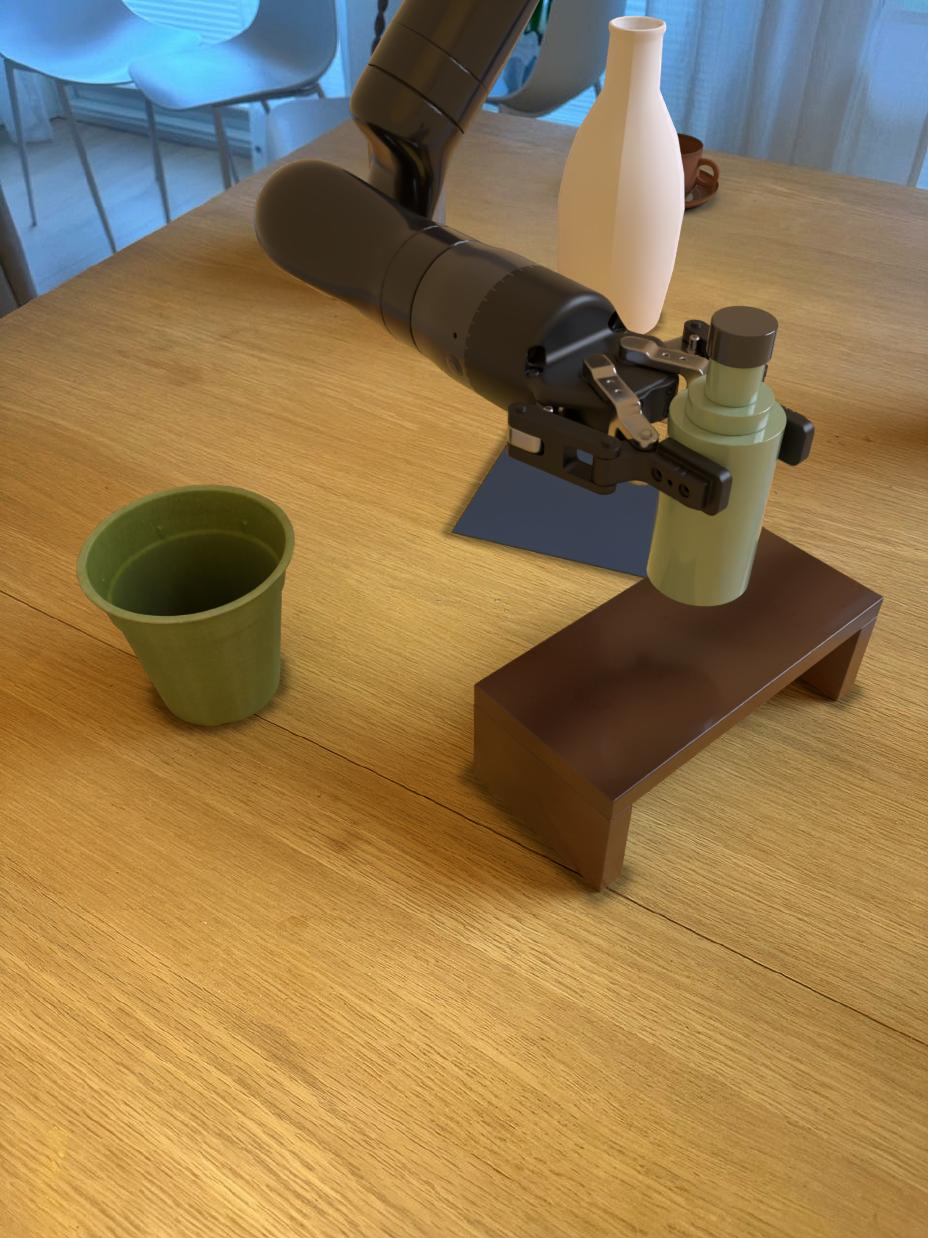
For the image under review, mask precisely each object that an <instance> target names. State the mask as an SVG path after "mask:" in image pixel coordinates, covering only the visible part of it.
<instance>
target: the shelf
mask: <svg viewBox="0 0 928 1238" xmlns="http://www.w3.org/2000/svg"><path fill="white" fill-rule="evenodd" d="M884 599H885V597H884V596H883V595H881V594H880V593H877V592H876V591H874V590H873V589H871V588H869V587H867V586H866V585H864V584H862V583H860V582H858V581H857V580H856V579H854V578H851V577H850V576H848V575H847V574H845V573H844V572H842V571H840V570H839V569H836V568H834V567H833V566H831V565H829V564H828V563H826V562H825V561H823V560H821V559H819V558H818V557H816V556H814V555H812V554H811V553H810V552H807V551H805V550H804V549H802V548H801V547H798V546H797V545H795V544H794V543H792V542H791V541H788V540H786V539H785V538H783V537H781V536H780V535H777V534H776V533H775V532H772V531H771V530H769V529H767V528H766V527H764V526H762V529H761V533H760V537H759V542H758V546H757V550H756V555H755V559H754V563H753V567H752V572H751V576H750V580H749V584H748V587H747V588H746V590H745V591H744V593H743V594H742V595H741V596H739V597H738V598H737V599H735V600H733V601H731V602H728V603H725V604H722V605H717V606H694V605H688V604H684V603H681V602H678V601H675V600H673V599H671V598H669V597H667V596H666V595H664V594H662V593H661V592H660V591H659V590H658V589H657V588H656V587H655V586H654V585H653V584H652V583H651V581H650V579H649V577H648V576H647V577H645V578H643V577H642V579H640V580H638V581H637V582H636V583H634V584H632V585H630V586H629V587H627V588H626V589H624V590H623V591H621V592H619V593H617V594H616V595H615V596H613V597H611V598H610V599H609V600H606V601H605V602H603V603H602V604H600V605H598V606H597V607H596V608H594V609H592V610H591V611H589V612H587V613H586V614H584V615H582V616H581V617H579V618H578V619H576V620H574V621H573V622H571V623H569V624H568V625H567V626H565V627H563V628H562V629H560V630H559V631H557V632H555V633H554V634H552V635H551V636H549V637H548V638H546V639H544V640H542V641H541V642H539V643H537V644H536V645H534V646H533V647H531V648H530V649H528V650H527V651H525V652H523V653H522V654H520V655H519V656H516V657H515V658H514V659H512V660H511V661H509V662H507V663H506V664H504V665H502V666H501V667H499V668H498V669H496V670H494V671H493V672H491V673H490V674H487V676H485V677H483V678H482V679H480V680H478V681H477V682H475V683H474V684H473V777H474V779H476V780H477V781H478V782H479V783H480V784H481V785H483V786H484V788H486V790H488V791H489V792H490V793H491V794H493V796H495V798H496V799H498V800H499V801H500V803H502V805H504V806H505V807H506V808H507V809H508V810H510V812H512V814H514V815H515V816H516V817H517V818H518V819H519V820H521V822H523V824H525V825H526V826H527V827H528V828H529V829H530V830H531V831H532V832H533V833H535V834H536V835H537V836H538V837H539V838H540V839H541V840H542V841H543V842H544V843H545V844H546V845H547V846H548V847H550V848H551V849H552V850H553V851H554V852H555V853H556V854H557V855H559V857H560V858H562V859H563V860H564V861H565V862H566V863H567V864H568V865H569V866H570V867H571V868H573V869H574V871H576V872H577V873H578V874H579V875H580V876H581V877H582V878H583V879H585V881H587V882H588V884H590V885H591V886H592V887H593V888H594V889H595V890H596V891H597V892H598V893H601V892H603V891H604V890H606V889H607V888H608V887H609V886H610V885H612V884H613V883H615V881H617V880H618V879H619V878H620V877H621V876H622V873H623V866H624V860H625V854H626V848H627V842H628V836H629V830H630V825H631V818H632V811H633V807H634V803H636V802H637V801H638V800H640V799H641V798H642V797H644V796H645V795H646V794H648V793H649V792H650V791H652V790H653V789H654V788H656V787H657V786H658V785H660V784H661V783H662V782H663V781H664V780H665V779H668V777H669V776H671V775H672V774H673V773H675V772H676V771H677V770H679V769H680V768H681V767H683V766H684V765H685V764H687V763H688V762H689V761H691V760H692V759H693V758H694V757H696V756H697V755H698V754H699V753H701V752H702V751H704V750H705V749H706V748H707V747H709V746H711V744H712V743H714V742H716V740H718V739H719V738H721V737H722V736H723V735H724V734H726V733H727V732H728V731H730V730H731V729H732V728H734V727H735V726H736V725H738V724H739V723H740V722H741V721H742V720H744V719H745V718H747V717H749V715H751V714H752V713H754V711H756V710H757V709H758V708H760V707H761V706H763V704H765V703H767V702H768V701H769V700H770V699H772V698H773V697H774V696H776V694H778V693H779V692H781V691H782V690H784V689H785V688H786V687H787V686H788V685H790V684H791V683H792V682H794V681H795V680H796V679H798V678H800V679H802V680H803V681H804V682H806V683H808V684H809V685H811V686H812V687H814V688H815V689H817V691H820V692H821V693H823V694H824V695H826V696H827V697H828V698H830V699H831V700H833V701H835V702H838V701H840V700H841V699H842V698H843V697H845V696H846V695H847V694H848V693H849V692H851V691H852V689H853V688H854V684H855V681H856V679H857V677H858V676H857V675H858V673H859V670H860V668H861V665H862V661H863V659H864V656H865V654H866V650H867V647H868V645H869V642H870V639H871V636H872V634H873V630H874V628H875V625H876V622H877V620H878V616H879V613H880V610H881V607H882V605H883V602H884Z"/></svg>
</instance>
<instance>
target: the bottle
mask: <svg viewBox="0 0 928 1238" xmlns="http://www.w3.org/2000/svg"><path fill="white" fill-rule="evenodd" d="M607 28H608V31H609V40H608V47H607V54H606V55H607V57H606V64H605V72H604V79H603V87H602V88H601V90H600V92H599V94H598V96H597V97H596V98H595V100H594V102H593V104H592V105H591V107H590V109H589V110H588V113H587V114H586V116H584V119H583V121H582V122H581V124H580V125H579V126H578V129H577V131H576V133H575V136H574V139H573V141H572V144H571V146H570V150H569V153H568V155H567V158H566V160H565V164H564V167H563V172H562V178H561V182H560V187H559V192H558V197H557V254H556V255H557V259H556V260H557V261H556V262H557V273H559V274H561V275H563V276H565V277H567V278H569V279H571V280H573V281H575V282H578V283H580V284H582V285H584V286H586V287H588V288H590V289H592V290H594V291H596V292H599V293H600V294H602V295H604V296H605V297H606V298H607V299H608V300H609V301H610V302H611V303H612V304H613V306H614V307H615V309H616V311H617V313H618V315H619V317H620V319H621V320H622V322H623V323H624V325H625V326H626V328H627V329H628V330H629V331H633V332H636V333H640V334H647V333H648V332H650V331H651V330H653V329H654V328H655V327H656V326H657V324H658V322H659V320H660V316H661V313H662V310H663V307H664V303H665V300H666V296H667V293H668V290H669V285H670V282H671V279H672V275H673V272H674V267H675V263H676V257H677V251H678V246H679V242H680V236H681V230H682V225H683V219H684V213H685V210H686V209H685V206H684V202H685V201H684V171H683V165H682V159H681V153H680V147H679V140H678V136H677V133H678V132H677V129H676V128H675V125H674V122H673V119H672V117H671V115H670V112H669V109H668V107H667V105H666V102H665V100H664V97H663V94H662V92H661V74H662V58H663V44H664V43H663V42H664V35H665V33H666V31H667V23H666V21H664V20H663V19H660V18H656V17H653V16H647V15H646V16H645V15H625V16H618V17H615V18H613V19H611V20H610V21H609V22H608V27H607Z"/></svg>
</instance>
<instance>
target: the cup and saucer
mask: <svg viewBox="0 0 928 1238" xmlns="http://www.w3.org/2000/svg"><path fill="white" fill-rule="evenodd" d="M677 136H678V140H679V147H680V153H681V159H682V165H683V171H684V206H685V209H684V210H686V209H692V208H696V207H698V206H701V205H703V204H705V203H708V201H710V200H711V199H712V198H713V197H715V196H716V194H717V193H718V191H719V187H720V184H719V179H720V176H721V175H720V168H719V166H718V164H717V163H716V162H715V161H714V160H713V159H710V158H706V157H703V152H704V143H703V141H702V140H701V139H699V138H697V137H695V136H692V135H689V134H686V133H679V132H677ZM701 166H708V167H709V168H711V169H712V172H713V174H711V173H710V172H707V171H705V170H703V169H701ZM690 194H691V195H692V199H691V200H688V201H686V200H687V199H688V196H689V195H690Z"/></svg>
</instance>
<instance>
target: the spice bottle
mask: <svg viewBox="0 0 928 1238" xmlns="http://www.w3.org/2000/svg"><path fill="white" fill-rule="evenodd" d="M709 325H710V328H709V334H708V340H707V346H706V351H707V354H708V356H709V362H708V368H707V374H706V375H703V376H700V377H698V378H696V379H695V380H694V381H693V382H692V383H691V384H690V386H689V388H688V389H686V388H685V389H684V390H682V391H680V392H678V394H677V395H676V396H675V397H674V398H673V400H672V402H671V403H670V407H669V413H668V420H667V424H666V427H665V435H664V439H666V438H668V437H671V438H672V439H674V440H676V441H678V442H680V443H681V444H683V445H685V446H686V447H688V448H690V449H692V450H694V451H696V452H698V453H699V454H701V455H703V456H705V457H707V458H708V459H710V460H712V461H714V462H716V463H717V464H719V465H721V466H723V467H725V468H726V469H727V470H728V471H729V472H730V473H731V475H732V486H731V491H730V496H729V501H728V506H727V508H726V509H724V510H723V511H721V512H719V513H718V514H716V515H714V516H709V515H707V514H705V513H704V512H702V511H698V510H695V509H691V508H688V507H686V506H684V505H683V504H681V503H679V502H678V501H676V500H674V499H673V498H672V497H669V496H668V495H666V494H664V493H663V492H661V491H659V490H657V497H656V504H655V511H654V518H653V525H652V532H651V539H650V546H649V553H648V560H647V574H648V577H649V579H650V581H651V583H652V584H653V585H654V586H655V587H656V588H657V589H658V590H659V591H660V592H661V593H662V594H664V595H666V596H667V597H669V598H671V599H673V600H675V601H678V602H681V603H684V604H688V605H694V606H717V605H722V604H725V603H728V602H731V601H733V600H735V599H737V598H738V597H739V596H741V595H742V594H743V593H744V591H745V590H746V588H747V587H748V584H749V580H750V576H751V572H752V567H753V563H754V559H755V555H756V550H757V546H758V542H759V537H760V533H761V529H762V527H763V524H764V520H765V516H766V511H767V507H768V504H769V498H770V494H771V490H772V485H773V482H774V477H775V472H776V469H777V464H778V461H779V459H778V456H779V452H780V448H781V443H782V439H783V435H784V431H785V426H786V421H787V420H786V414H785V412H784V410H783V408H782V407H781V406H780V404H781V403H779V402H778V401H776V400H775V399H776V397H775V394H774V392H773V390H772V388H771V387H770V386H769V385H768V384H767V383H765V381H764V382H762V379H763V374H764V369H765V364H768V363H769V362H770V361H771V360H772V357H773V354H774V349H775V345H776V339H777V336H778V330H779V321H778V319H777V318H776V317H775V315H773V314H772V313H770V312H769V311H767V310H764V309H762V308H759V307H755V306H748V305H732V306H725V307H721V308H720V309H718V310H716V311H714V313H712V315H711V317H710V322H709Z"/></svg>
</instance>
